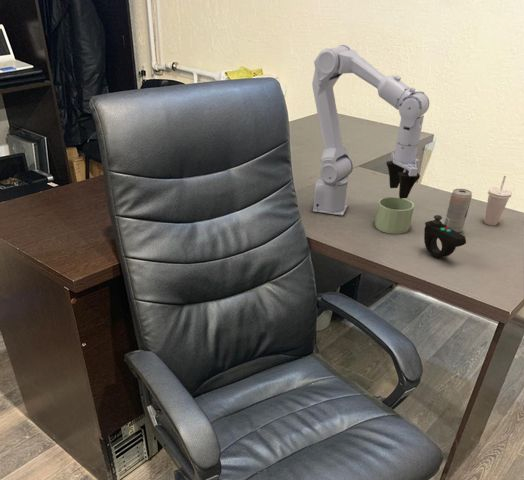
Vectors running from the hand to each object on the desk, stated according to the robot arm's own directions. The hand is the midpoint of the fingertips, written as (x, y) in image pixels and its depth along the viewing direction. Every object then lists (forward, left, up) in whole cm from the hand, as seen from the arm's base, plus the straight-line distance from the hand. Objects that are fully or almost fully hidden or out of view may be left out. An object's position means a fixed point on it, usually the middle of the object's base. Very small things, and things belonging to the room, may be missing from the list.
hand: (398, 192), depth 148 cm
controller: (+14, -15, -10) cm, 23 cm away
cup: (0, 0, -10) cm, 10 cm away
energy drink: (+17, +2, -10) cm, 20 cm away
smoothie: (+28, +13, -10) cm, 33 cm away
